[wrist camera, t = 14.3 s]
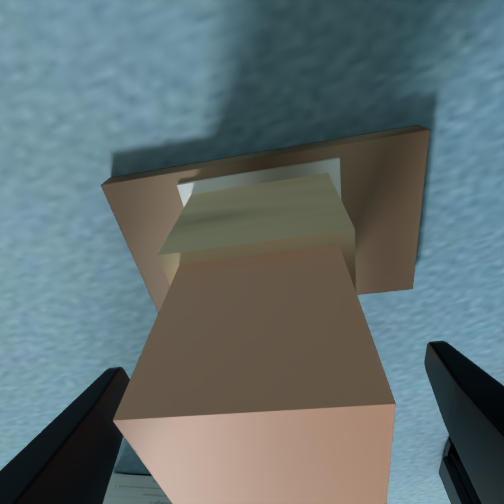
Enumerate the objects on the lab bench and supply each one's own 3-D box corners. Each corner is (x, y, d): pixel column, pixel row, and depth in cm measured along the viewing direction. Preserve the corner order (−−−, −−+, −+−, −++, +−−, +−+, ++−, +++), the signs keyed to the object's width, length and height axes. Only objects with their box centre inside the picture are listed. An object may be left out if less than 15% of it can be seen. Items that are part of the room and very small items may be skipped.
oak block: (334, 284, 16) (357, 365, 12) (221, 297, 17) (206, 377, 13) (328, 172, 13) (354, 229, 9) (191, 194, 14) (157, 255, 10)
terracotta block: (339, 245, 9) (395, 403, 5) (344, 358, 12) (384, 524, 8) (178, 266, 10) (112, 420, 6) (216, 368, 13) (189, 526, 8)
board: (419, 124, 13) (431, 130, 12) (405, 277, 17) (414, 291, 16) (110, 177, 15) (98, 186, 14) (164, 304, 19) (158, 318, 18)
